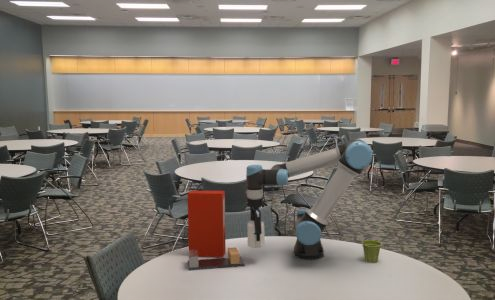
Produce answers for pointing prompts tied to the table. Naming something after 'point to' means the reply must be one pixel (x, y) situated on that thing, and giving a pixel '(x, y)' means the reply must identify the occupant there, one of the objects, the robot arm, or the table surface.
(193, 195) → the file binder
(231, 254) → the block
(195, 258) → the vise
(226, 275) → the table surface
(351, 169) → the robot arm
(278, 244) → the table surface
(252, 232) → the beverage can
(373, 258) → the plant pot
